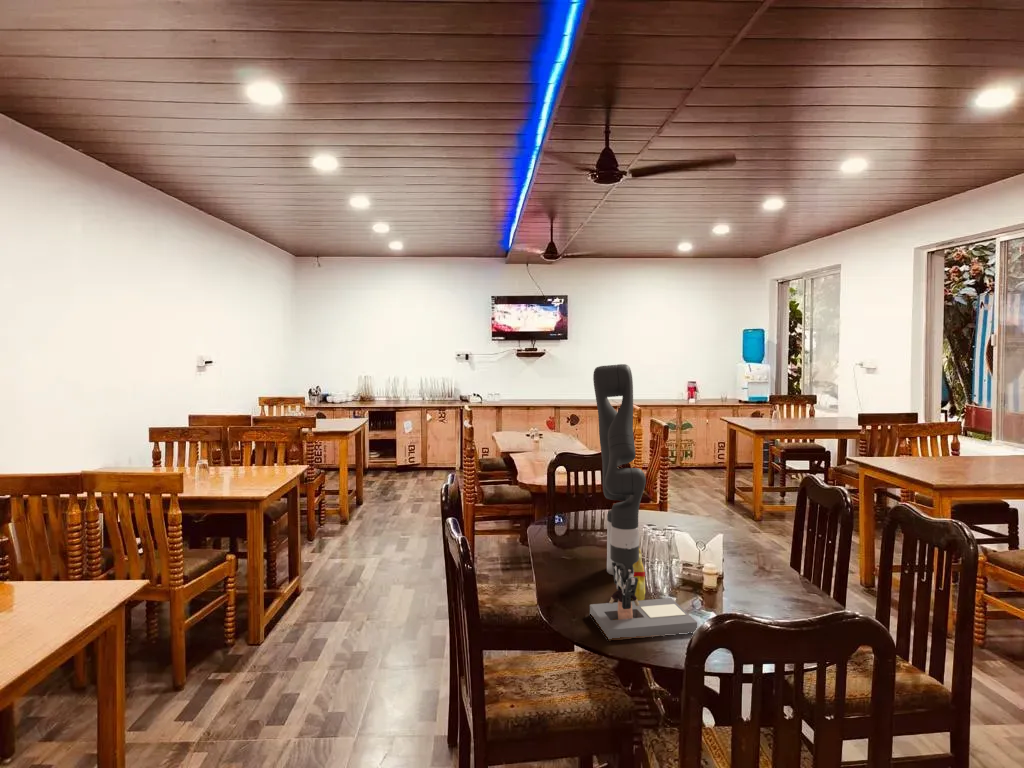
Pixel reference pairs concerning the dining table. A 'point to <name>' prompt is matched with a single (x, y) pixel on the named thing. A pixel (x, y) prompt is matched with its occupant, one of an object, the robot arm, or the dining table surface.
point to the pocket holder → (644, 619)
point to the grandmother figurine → (621, 612)
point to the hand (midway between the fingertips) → (624, 605)
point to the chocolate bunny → (639, 578)
